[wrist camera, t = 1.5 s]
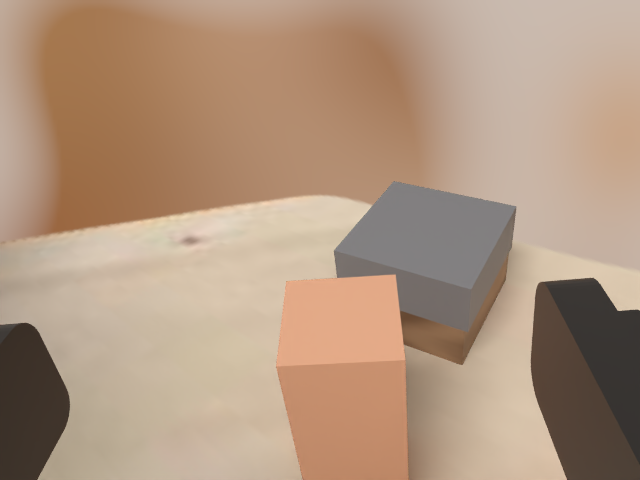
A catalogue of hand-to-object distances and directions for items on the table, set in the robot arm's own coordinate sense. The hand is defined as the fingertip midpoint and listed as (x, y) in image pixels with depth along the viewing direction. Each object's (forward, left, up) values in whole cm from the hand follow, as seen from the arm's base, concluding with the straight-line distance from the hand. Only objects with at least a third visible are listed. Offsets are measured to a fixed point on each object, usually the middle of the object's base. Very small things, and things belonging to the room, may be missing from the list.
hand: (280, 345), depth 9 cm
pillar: (-9, +5, -22) cm, 25 cm away
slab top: (-18, +16, -19) cm, 31 cm away
